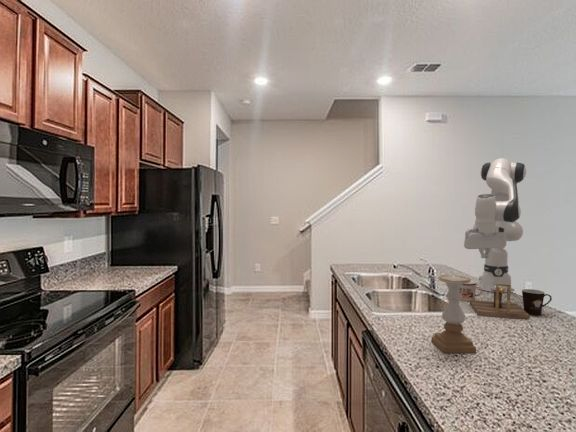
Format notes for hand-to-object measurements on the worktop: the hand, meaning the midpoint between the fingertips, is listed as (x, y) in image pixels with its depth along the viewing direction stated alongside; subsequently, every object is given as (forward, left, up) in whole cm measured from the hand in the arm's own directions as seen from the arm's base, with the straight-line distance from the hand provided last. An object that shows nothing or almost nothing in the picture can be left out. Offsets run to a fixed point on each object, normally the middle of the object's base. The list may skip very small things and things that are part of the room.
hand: (484, 257), depth 185 cm
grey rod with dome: (+5, +4, -14) cm, 15 cm away
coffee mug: (+7, +20, -23) cm, 32 cm away
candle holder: (+60, -21, -23) cm, 68 cm away
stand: (+7, +4, -23) cm, 25 cm away
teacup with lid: (-12, -5, -23) cm, 27 cm away
